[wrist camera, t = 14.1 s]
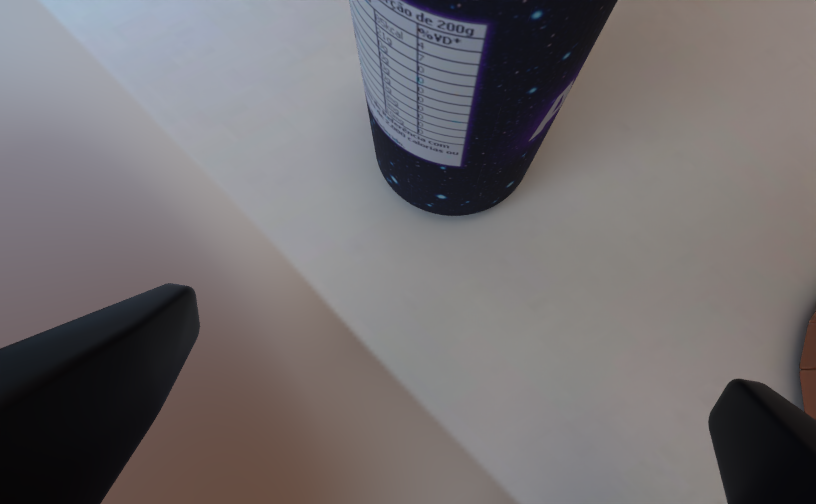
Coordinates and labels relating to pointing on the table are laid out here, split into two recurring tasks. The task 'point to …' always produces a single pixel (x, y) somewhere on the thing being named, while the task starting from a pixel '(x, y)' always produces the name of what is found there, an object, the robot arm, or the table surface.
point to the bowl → (809, 369)
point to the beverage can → (467, 90)
